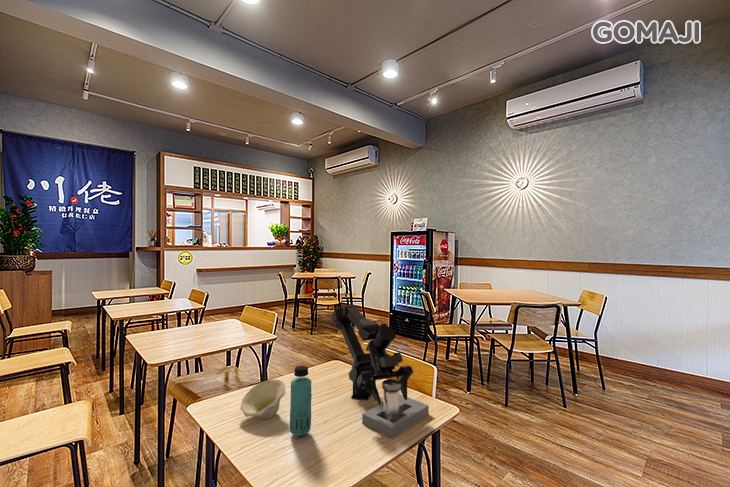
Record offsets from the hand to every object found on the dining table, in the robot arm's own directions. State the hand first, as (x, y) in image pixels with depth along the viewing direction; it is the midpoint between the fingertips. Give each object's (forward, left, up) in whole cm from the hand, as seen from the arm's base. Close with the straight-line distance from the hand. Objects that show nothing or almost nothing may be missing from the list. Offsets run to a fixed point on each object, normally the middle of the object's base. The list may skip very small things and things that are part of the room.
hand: (393, 402), depth 104 cm
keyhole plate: (0, +5, -8) cm, 9 cm away
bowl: (-43, -4, -8) cm, 43 cm away
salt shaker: (-1, +1, -8) cm, 8 cm away
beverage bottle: (-27, -11, -8) cm, 30 cm away
